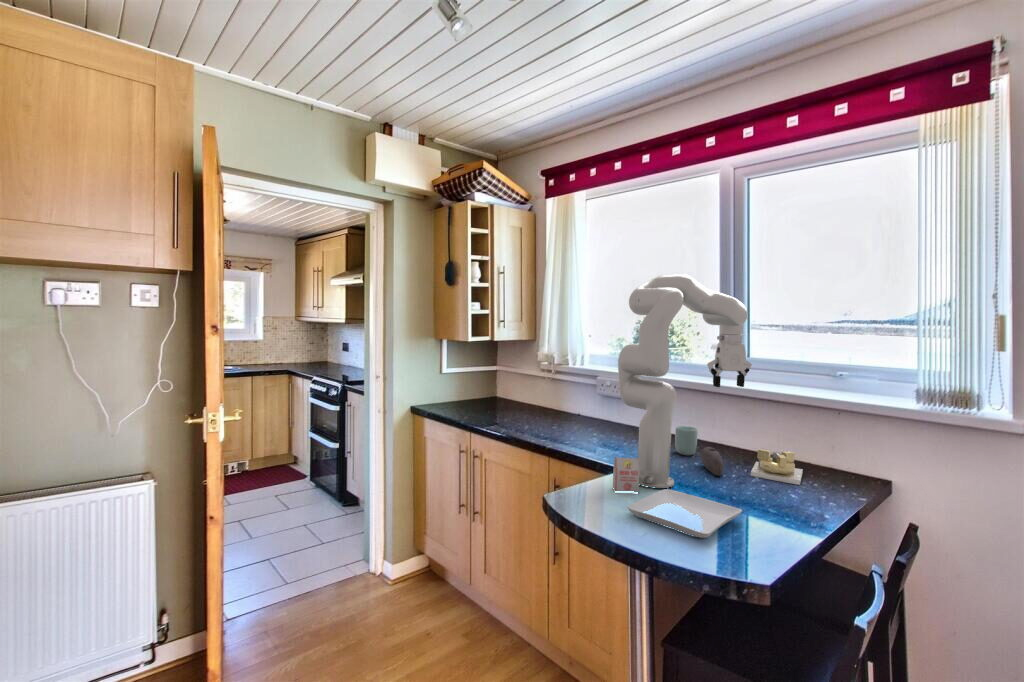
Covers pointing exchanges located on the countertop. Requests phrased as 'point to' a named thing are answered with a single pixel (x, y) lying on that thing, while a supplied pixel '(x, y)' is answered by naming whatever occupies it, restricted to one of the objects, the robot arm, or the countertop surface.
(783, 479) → the housing
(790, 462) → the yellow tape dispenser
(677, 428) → the cup
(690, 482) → the countertop surface
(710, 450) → the brown oval lump
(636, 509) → the salad plate
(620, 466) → the printed carton box
